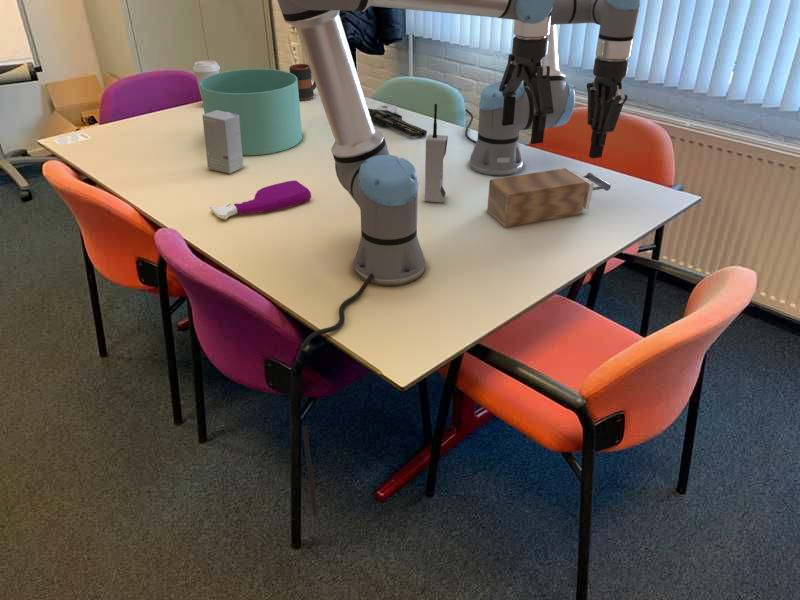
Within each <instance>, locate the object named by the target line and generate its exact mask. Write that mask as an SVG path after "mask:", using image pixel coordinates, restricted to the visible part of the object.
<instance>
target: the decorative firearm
mask: <svg viewBox="0 0 800 600" xmlns="http://www.w3.org/2000/svg"><path fill="white" fill-rule="evenodd" d="M368 110H369V114H370V117H371V120H372V121H373V122H374V123H377V124H379V125H382V126H383V127H384V126H389V127H391V128H393V129H395V130H397V131H399V132H401V133H404V134H406V135H408V136H411V137H415V138H416V137H419V138H424V137H426V136H427V132H428V130H426V129H423V128H421V127H420V126H416V125H413V124H411V123H409V122H406V121H405V120H403V115H401V114H399V113H397V110H398V107H397V105H393V104H388V103H385V104H382V105H379V106H378V107H376V108H369V107H368Z"/></svg>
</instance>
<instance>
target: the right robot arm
mask: <svg viewBox="0 0 800 600" xmlns="http://www.w3.org/2000/svg"><path fill="white" fill-rule="evenodd" d="M640 7H641V0H554V4H553V8H552V12H551V22H550V30H549V35H548V36H546V37H547V38H548V39H549V41H548V50H547V55H546V56H545V57H543V58H542V59H541V65H542V66H549V67H550V85H551V93H552V101H553V109H554V112H553V114H547V116H546V124H545V129H553V128H557V127H563V126H564V125H566V124H567V123H568V122H569V121H570V119H571V117H572V116H573V113H574V110H575V105H576V92H575V89H574V87H573V85H572V84H571V83H568V82H566V75H565V74H564V73H563V72H561V71H560V65H559V64H560V63H559V52H558V51H559V49H558V47H559V46H558V33H557V32H558V31H557V25H576V24H595V25H598V26H599V31H598V37H597V43H596V49H595V56H596V57H595V59H594V63H593V69H592V74H593V76H594V80H593V81H592V82H587V83H586V89H587V125H588V126H590V128H591V137H590V147H589V154H588V157H589V158H591V159H601V158H602V157H603V152H604V146H605V145H606V141H607V135H608V133H613V132H614V131H615V129H616V126H617V123H618V120H619V117H620V115H621V112H622V109H623V107H624V104H625V103H626V102H627V100H628V97H629V96H628V94H624V92H623V91H622V89H623V83H622V81H623V79H624V78H625V77H626V76H627V75H628V69H629V63H630V61H629V58H630V57H631V51H632V47H633V46H632V45H633V41H634V35H635V31H636V26H637V21H638V16H639V12H640ZM536 80H537V79H536ZM500 84H501V81H497V82H493V83H490V84H488V85H486V86H485V87H484V88H483V89H482V90H481V93H480V98H479V103H478V108H479V110H478V112H479V113H478V127H477V140H474V139H473V138H471V137H470V136H469V135H468V130H469V128H470V127H471V125H472V124H473V123H472V122H473V121H474V115H473V113H471V111H469V110H468V109H467V108H465V112H466V113H467V114H468V115H469V116H470V120H469V123H468V125H467V126H466V127H465V132H464V136H465V138H466V139H467V140H468V141H470V142H472V143H473V144H475V145H474V147H473V150H472V152H471V154H470V158H469V167H470V169H472V170H473V171H475V172H477V173H479V174H482V175H488V176H497V177H498V176H500V177H501V176H511V175H514V174H517V173H519V172H521V170H522V169H523V161H524V160H523V157H522V152H521V147H520V143H519V140H520V139H519V138H520V131H526V130H527V131H529V130H532V125H533V114H534V113H536V111H535V107H534V103H533V99H532V95H531V92H530V88H529V87H528V86H527V84H526V83H525V82H524V81H522V83H521V84H520V86H519V87H518V89H517V90H516V95H513V96H514V97H516V100H515V112H514V123H513V125H506V126H503V125H502V117H503V103H504V97H503V94H502V92H500V91H499V87H500ZM505 86H507V85H505ZM513 96H512V97H513Z"/></svg>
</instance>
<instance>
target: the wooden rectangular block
mask: <svg viewBox="0 0 800 600" xmlns="http://www.w3.org/2000/svg"><path fill="white" fill-rule="evenodd" d="M572 172H573V171H571V170H569V169H567V168H566V167H564V168H559V169H558V168H557V169H552V170H545V171H538V172H532V173H524V174H518V175H512V176H511V175H510V176H504V177H498V178H491V179H489V183H488V194H487V195H488V198H487V209H486V212H487V213H488V214H489V215H491V216H492V217H493V218H494V219H495V220H496V221H497V222H499V224H500V225H502V226H503V227H504V228H509V227H516V226H521V225H527V224H533V223H539V222H544V221H549V220H555V219H561V218H562V219H563V218H566V217H572V216H573V217H574V216H578V215H582V213H583V208H584V207H583V202H584V196H585V190H586V185H587V182H586V181H584V180H583V179H581V178H580V177H578V176H576V175H575V174H573V173H572Z"/></svg>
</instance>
